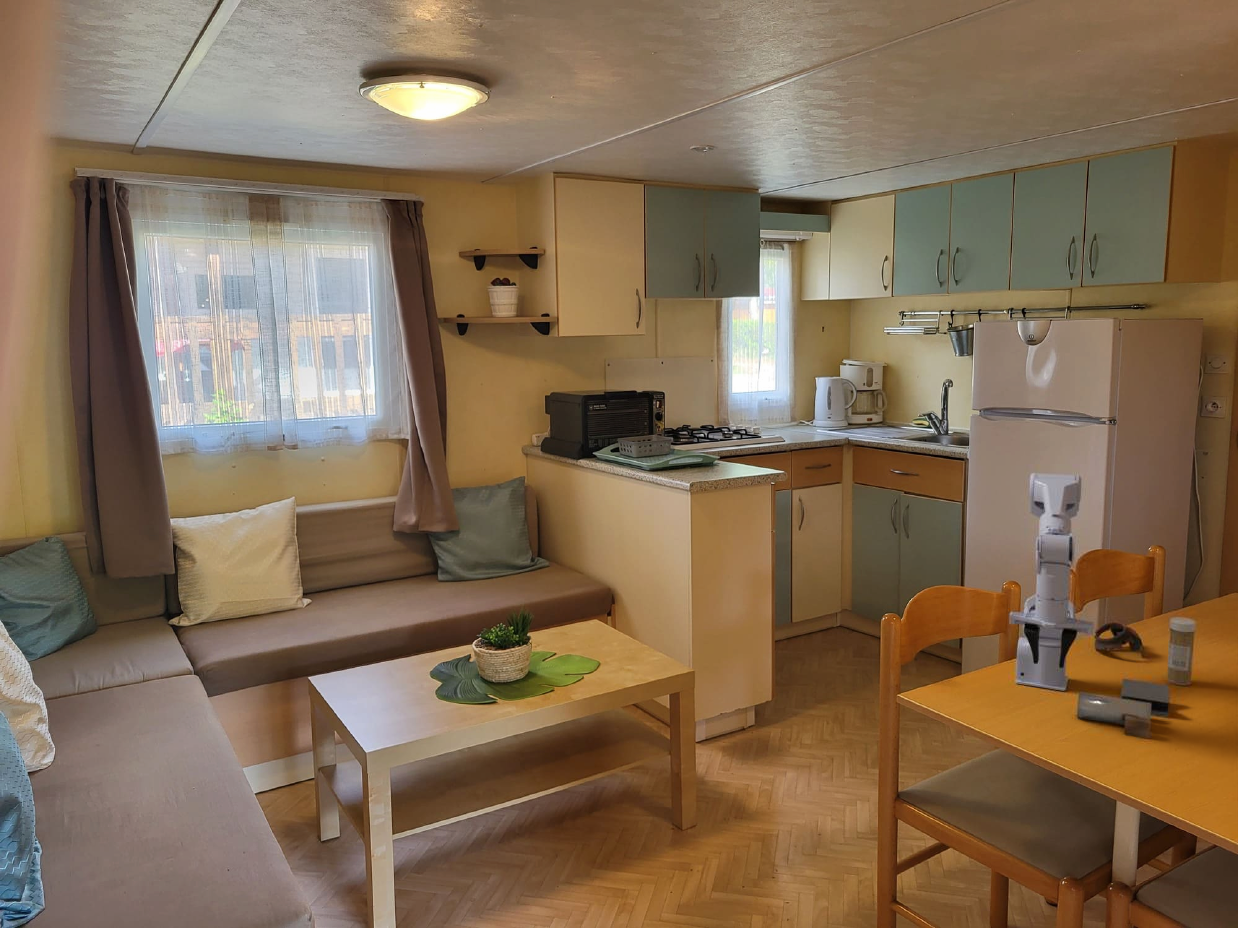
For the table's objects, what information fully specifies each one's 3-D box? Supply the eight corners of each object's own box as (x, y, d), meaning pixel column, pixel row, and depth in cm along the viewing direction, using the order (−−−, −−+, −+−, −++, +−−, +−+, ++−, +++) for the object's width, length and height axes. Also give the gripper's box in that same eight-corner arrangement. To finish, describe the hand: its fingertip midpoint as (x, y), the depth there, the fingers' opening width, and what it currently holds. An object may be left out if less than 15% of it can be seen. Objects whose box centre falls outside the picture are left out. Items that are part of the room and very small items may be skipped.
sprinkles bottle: (1195, 682, 192) (1200, 620, 190) (1184, 688, 189) (1189, 624, 187) (1172, 676, 196) (1177, 614, 193) (1161, 681, 193) (1165, 619, 191)
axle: (1076, 720, 176) (1078, 696, 175) (1078, 712, 180) (1079, 688, 179) (1149, 733, 170) (1151, 708, 169) (1149, 724, 174) (1151, 699, 173)
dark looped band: (1150, 665, 203) (1133, 635, 202) (1105, 676, 208) (1088, 647, 207) (1145, 635, 213) (1129, 606, 212) (1102, 646, 218) (1087, 618, 217)
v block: (1120, 709, 180) (1121, 690, 179) (1121, 695, 187) (1122, 677, 186) (1168, 717, 176) (1169, 698, 175) (1167, 702, 183) (1169, 684, 182)
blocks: (1124, 734, 170) (1125, 718, 169) (1125, 713, 178) (1126, 699, 178) (1149, 738, 168) (1150, 723, 167) (1149, 717, 176) (1150, 702, 176)
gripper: (1008, 596, 177) (1005, 664, 179) (1093, 607, 170) (1089, 677, 172) (1013, 587, 183) (1010, 652, 185) (1095, 596, 176) (1091, 664, 178)
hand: (1048, 664), depth 179 cm, fingers open, 4 cm apart
